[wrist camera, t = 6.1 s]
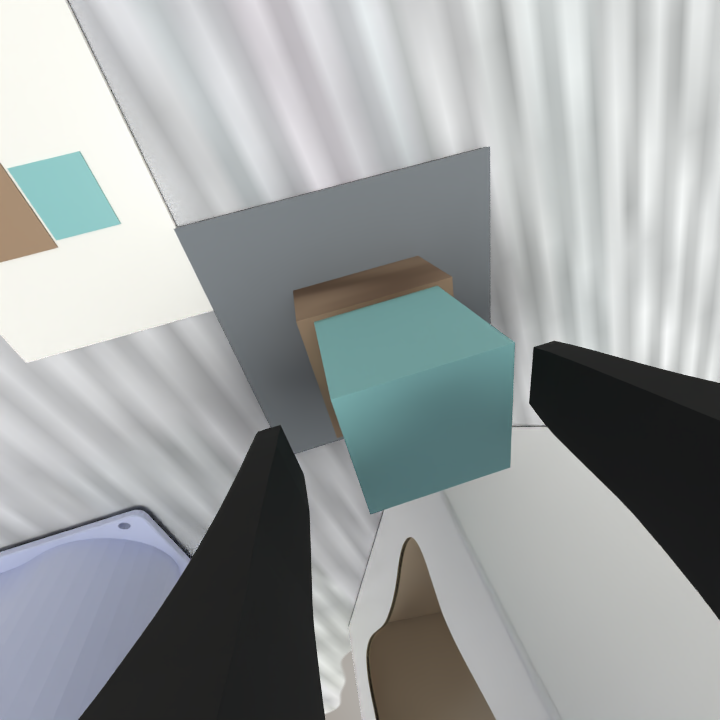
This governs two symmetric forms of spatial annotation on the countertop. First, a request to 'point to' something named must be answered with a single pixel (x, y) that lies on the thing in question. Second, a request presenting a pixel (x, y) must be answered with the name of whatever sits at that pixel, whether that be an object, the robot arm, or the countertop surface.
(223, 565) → the robot arm
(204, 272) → the build mat
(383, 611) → the gable box
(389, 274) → the walnut block
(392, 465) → the teal cube
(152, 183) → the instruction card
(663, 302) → the countertop surface
